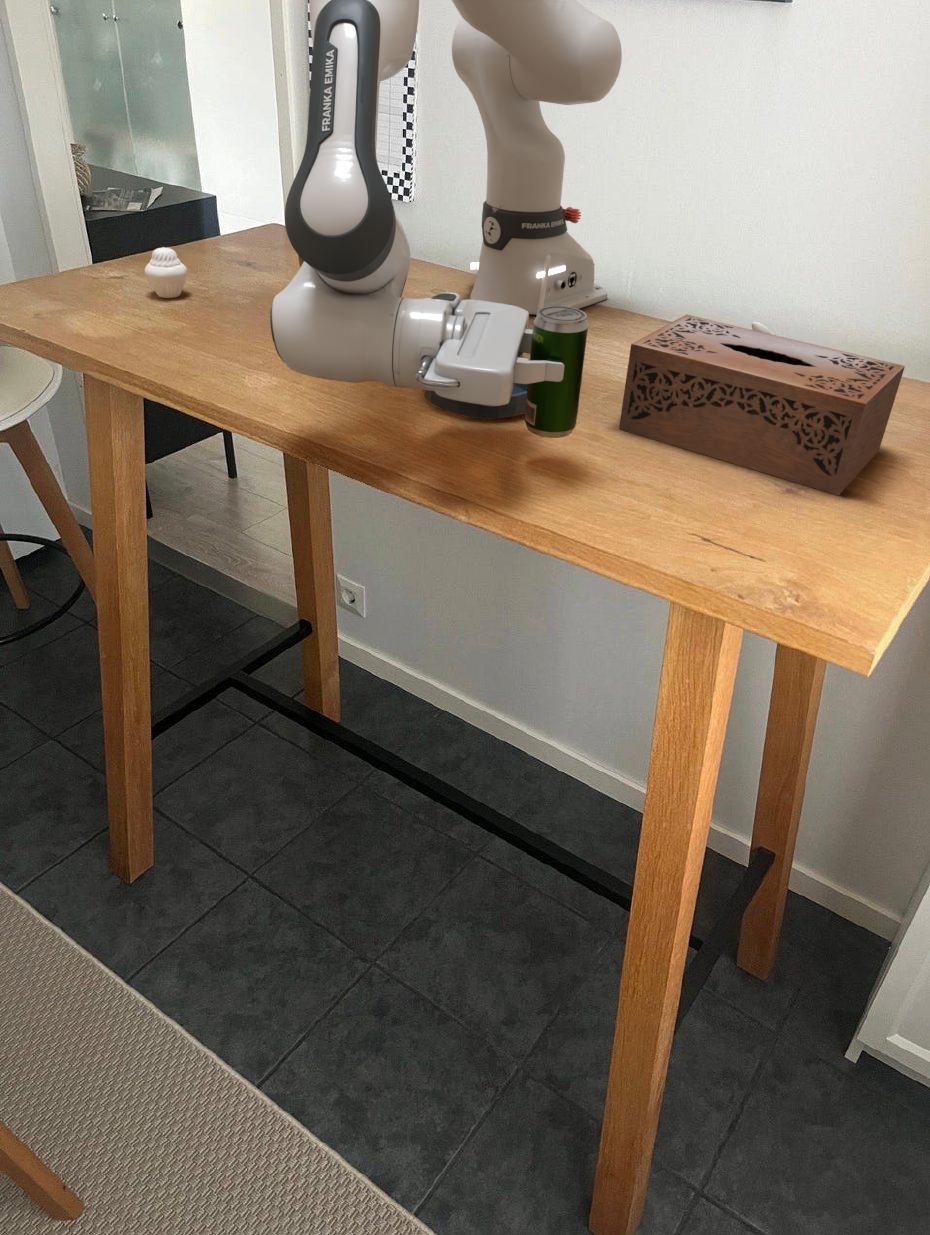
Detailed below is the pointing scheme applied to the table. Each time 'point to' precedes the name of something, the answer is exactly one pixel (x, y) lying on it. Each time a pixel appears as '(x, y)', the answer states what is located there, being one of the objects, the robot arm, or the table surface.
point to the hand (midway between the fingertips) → (566, 359)
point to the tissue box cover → (760, 400)
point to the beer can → (558, 401)
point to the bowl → (483, 411)
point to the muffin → (166, 273)
